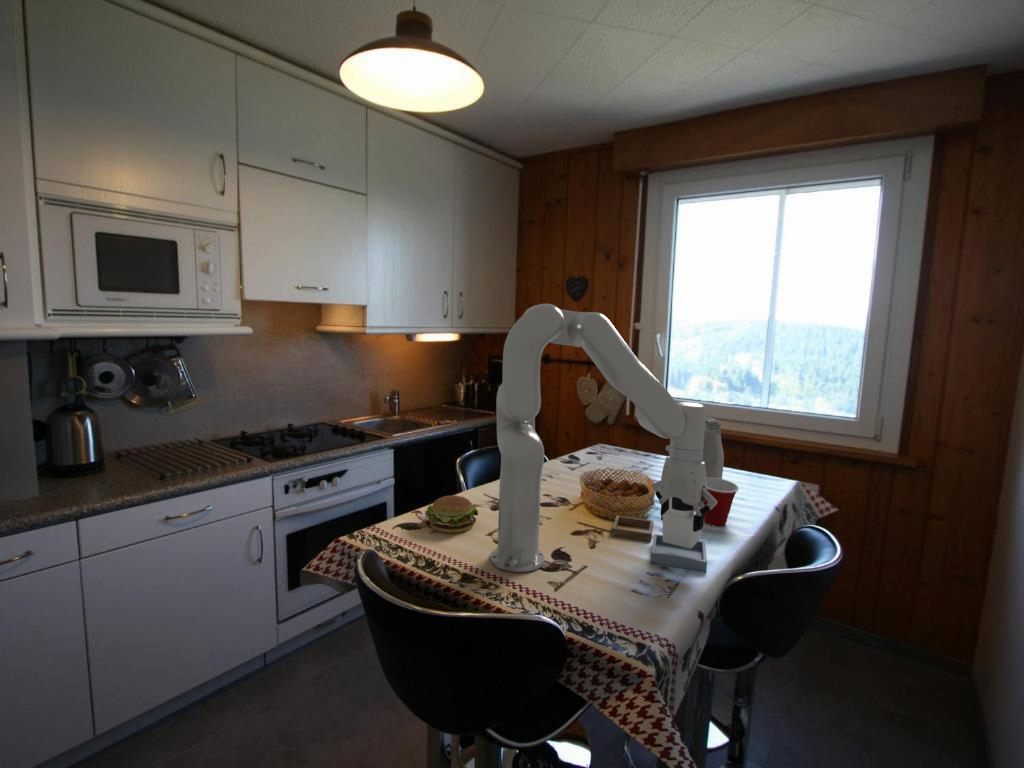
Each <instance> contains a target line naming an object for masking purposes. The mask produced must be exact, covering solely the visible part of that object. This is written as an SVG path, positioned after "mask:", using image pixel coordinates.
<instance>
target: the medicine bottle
mask: <svg viewBox="0 0 1024 768" xmlns="http://www.w3.org/2000/svg"><path fill="white" fill-rule="evenodd" d="M694 515H696V512H695V510H694V508H693V506H692V505H687V504H684V503H683V502H682V500H681V499H679V498H677V497H671V499H669V510H668V511H667V512H665V513H664V514H663V521H662V535H663V542H665V543H669V544H673V545H677V546H681V547H685V548H689V549H691V548H692V547H693V546H694V545H695V544H696V543H697V542H698V541H700V539H701V537H702V534H701V533H702V529H701V530H699V531H697V532H695V531H693V524H694V520H693V519H694Z"/></svg>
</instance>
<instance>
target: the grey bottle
mask: <svg viewBox="0 0 1024 768" xmlns="http://www.w3.org/2000/svg"><path fill="white" fill-rule="evenodd" d="M721 429H722V427H721V424H720V422H719V420H717V419H716V418H714V417H709V416H706V418H705V431H704V445H703V458H702V461H703V462H705V468H706V478H719V479H723V472H724V461H725V460H724V459H725V456H724V455H725V454H724V448H723V443H722V436H721V435H722V434H721V433H722V432H721Z"/></svg>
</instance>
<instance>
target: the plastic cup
mask: <svg viewBox="0 0 1024 768" xmlns="http://www.w3.org/2000/svg"><path fill="white" fill-rule="evenodd" d="M706 481H707V488H706V490H707V491H708V492H709V493H710V494H711V495H712V496H713V497H714V498H715V499H716V500H717V504H716V505H715V506H714V507H713V508H712V509H711V510H710V511H708V512H707V513H706V514H704V523H705V522H706V523H705V524H707V525H709V524H710V525H709V526H712V525H714V526H713V527H724V526H726V523H727V521H728V518H729V515H730V512H731V508H732V505H733V500H734V498H735V496H736V494H737V492H738V491H739V489H740V488H739V486H738V485H737V484H736V483H734V482H733V481H729V480H727V479H723V478H722V479H719V478H706ZM703 504H704V506H706V505H707V504H708V501H707V500H706V499H705V501H704V502H703ZM723 525H724V526H723Z"/></svg>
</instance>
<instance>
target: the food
mask: <svg viewBox="0 0 1024 768" xmlns="http://www.w3.org/2000/svg"><path fill="white" fill-rule="evenodd" d="M424 515H425V516H426V518H427V519H428V521H429V523H430V526H431V528H432V529H433V530H434V531H437V532H440V533H443V534H445V533H446V534H458V533H460V534H461V533H463V532H467V531H470V530H471V529H472V528H473V527H474V524H476V520H477V519H476V517H475V516H479V510H477V507H476V506H475V505H473V502H471V500H470V499H468V498H466V497H465V496H462V495H461V496H460V495H455V494H454V495H445V496H442V497H439V498H438V499H436V500H435V501H434V502H433V503H432V504H431V503H430V504H429V505H428V506H427V507H426V510H425V511H424Z"/></svg>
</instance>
